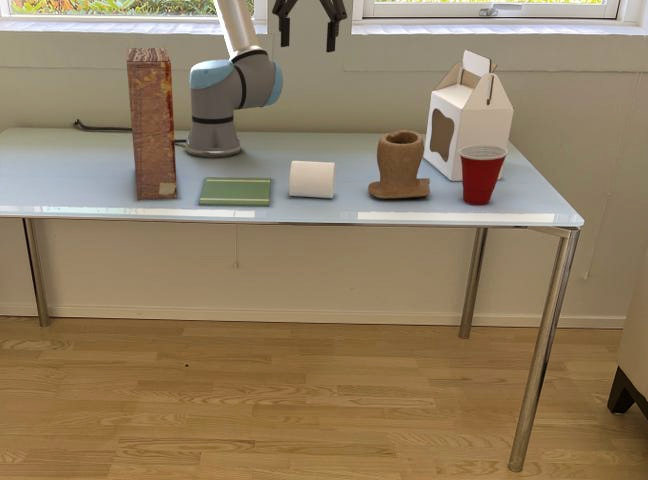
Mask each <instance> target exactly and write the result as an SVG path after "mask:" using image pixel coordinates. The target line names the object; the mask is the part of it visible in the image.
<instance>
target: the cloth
mask: <svg viewBox="0 0 648 480" xmlns="http://www.w3.org/2000/svg"><path fill="white" fill-rule="evenodd" d="M271 179H272V178H271V177H235V176H234V177H232V176H231V177H229V176H227V177H225V176H224V177H223V176H206V179H205V182H204V185H203V188H202V192H201V195H200V198H199V201H198V206H225V207H226V206H231V207H234V206H235V207H237V206H238V207H269V206H270V198H271V197H270V196H271V182H272V181H271Z"/></svg>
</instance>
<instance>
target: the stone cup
mask: <svg viewBox="0 0 648 480" xmlns="http://www.w3.org/2000/svg"><path fill="white" fill-rule="evenodd" d="M424 150H425V143H424V139H423V135H422V134H421V133H419V132H417V131H414V130H408V129H400V130H396V131H394V132H387V133H385V134H383V135H381V137H380V138H379V139H378V142H377V147H376V162H377V166H378V172H379V180H378V181H372V182H370V183H369V184H368V186H367V191H368V192H369V193H370V195H371V196H373V197H376V198H378V199H406V198H407V199H408V198H420V197H430V194H431V191H430V183H431V178H428V177H427V178H425V177H424V178H423V177H422V178H419V177H418V173H419V168H420V166H421V163H422V160H423V158H424Z"/></svg>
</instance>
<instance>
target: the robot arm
mask: <svg viewBox="0 0 648 480" xmlns="http://www.w3.org/2000/svg"><path fill="white" fill-rule="evenodd" d="M298 1H299V0H275V2H274V5H273V7H272V10H271V13H272V15H276V16H277V17H278V33H280V48H288V47H290V37H291V36H290V35H291V17H289V14H290V13H291V11H292V10H293V8H294V7H295V5H296V4H297V3H298ZM318 1H319V2H320V5H321V6H322V8H323V10H324V11H325V13H326V15H327V17H328V18H329V20H330V21H329V22H327V28H326V29H327V31H326V51H325V52H326V53H333V52H336V41H337V39H336V38H338V37H339V35H340V23H341V21H343V20H346V19H348V13H347V10H346V7H345V4H344V0H318ZM213 2H214V6H215V9H216V12H217V16H218V19H219V22H220V26H221V30H222V33H223V36H224V40H225V43H226V47H227V50H228V53H229V56H230V58H229V59H216V60H215V59H211V60H205V61H202V62H199V63H197V64H195V65H194V66H193V67H191V70H190V72H189V88H190V89H189V90H190V92H189V93H190V111H191V125H190V128H189V132H188V138H179V139H177V138H174V141H175V144H180V143H185V147H186V153H188V155H191V156H194V157H200V158H212V159H213V158H225V157H231V156H235V155H237V154H239V153H240V152H241V141H240V139H239V136H240V135H239V133H238V131H237V129H236V126H235V125H236V124H235V121H234V118H235V117H234V114H235V113H234V112H235V111H238V110H239V111H240V110H247V109H255V108H264V107H268V106H272V105H274V104H276V102H277V101H278V100H279V98H280V97H281V94H282V91H283V87H284V74H283V70H282V67H281V65H280V64H279V63H278V62H277V61H276V60H270V58H269V54H268V50H266V49H265V48H262V47H261V46H260V42H259V39H258V36H257V33H256V29H255V26H254V23H253V19H252V15H251V13H250V10H249V6H248V3H247V0H213ZM76 120H77V122H76ZM76 120H75V121H74V124H73V125H79V126H80V127H81V128H82V129H84V130H90V131H123V132H124V131H127V132H132V127H129V126H128V127H124V126H90V125H85V124H84V123H83V122H82V120H81V119H79V118H77V119H76Z"/></svg>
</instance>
